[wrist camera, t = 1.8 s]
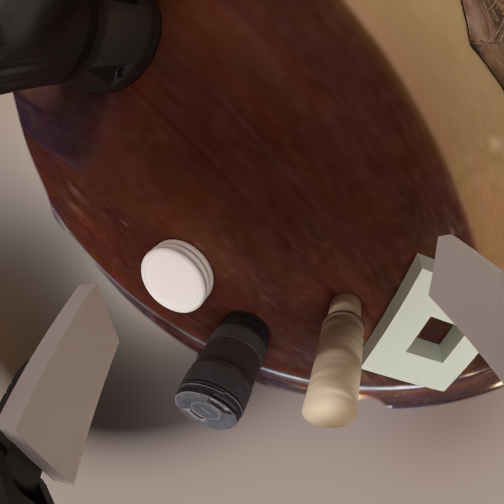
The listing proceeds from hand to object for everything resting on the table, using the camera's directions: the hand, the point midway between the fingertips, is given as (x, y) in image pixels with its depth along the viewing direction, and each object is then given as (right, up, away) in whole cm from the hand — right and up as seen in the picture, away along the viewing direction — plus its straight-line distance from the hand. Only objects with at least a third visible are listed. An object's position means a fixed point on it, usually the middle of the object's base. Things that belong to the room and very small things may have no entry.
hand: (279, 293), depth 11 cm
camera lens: (-2, -10, +33) cm, 35 cm away
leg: (+11, -5, +26) cm, 29 cm away
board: (+22, -8, +23) cm, 33 cm away
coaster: (-11, -1, +32) cm, 34 cm away
